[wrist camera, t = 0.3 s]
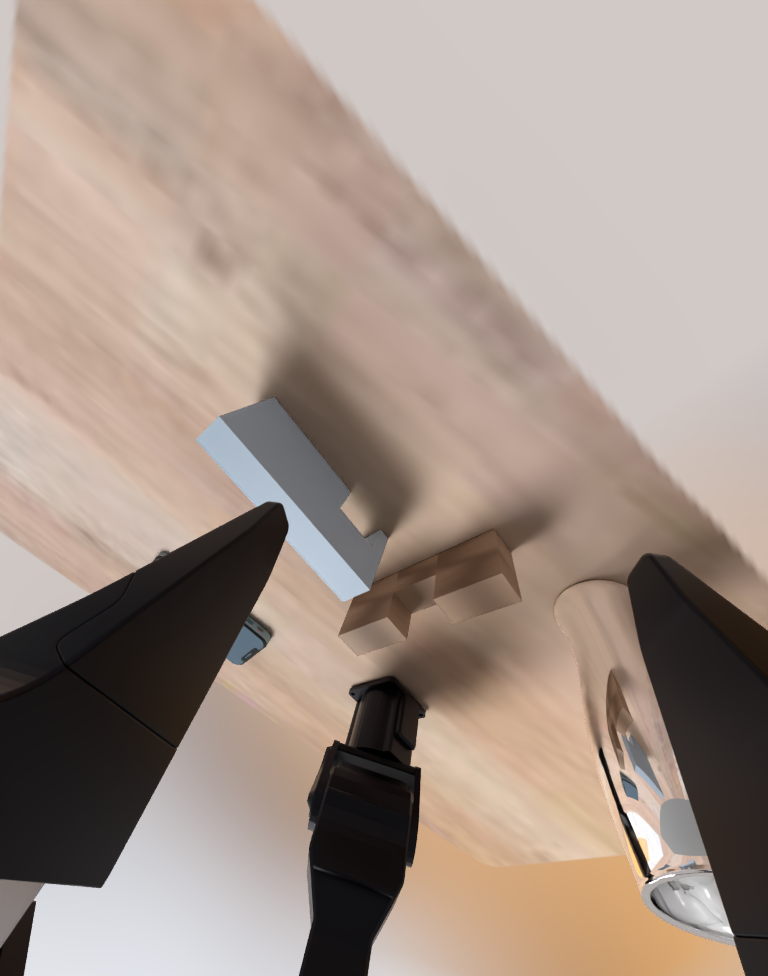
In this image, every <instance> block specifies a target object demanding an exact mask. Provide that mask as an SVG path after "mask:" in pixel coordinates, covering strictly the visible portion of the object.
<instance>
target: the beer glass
mask: <svg viewBox="0 0 768 976" xmlns="http://www.w3.org/2000/svg"><path fill="white" fill-rule="evenodd" d="M554 615H555V618H556V621H557V623H558V625H559V627H560V628H561V630H562V632H563V633H564V635H565V637H566V638H567V640H568V642H569V644H570V646H571V649H572V651H573V654H574V657H575V661H576V665H577V671H578V677H579V685H580V692H581V699H582V706H583V713H584V720H585V725H586V730H587V735H588V740H589V745H590V749H591V753H592V756H593V760H594V763H595V767H596V770H597V774H598V777H599V780H600V783H601V786H602V789H603V792H604V795H605V798H606V801H607V804H608V807H609V810H610V813H611V815H612V818H613V821H614V823H615V826H616V829H617V831H618V834H619V837H620V840H621V842H622V845H623V847H624V850H625V852H626V855H627V857H628V860H629V863H630V865H631V868H632V870H633V873H634V876H635V879H636V881H637V884H638V887H639V890H640V893H641V897H642V900H643V902H644V903H645V905H646V906H647V908H648V909H649V910H650V911H651V912H653V913H654V914H655V915H656V916H658V917H659V918H661V919H662V920H664V921H665V922H667V923H669V924H671V925H673V926H675V927H677V928H679V929H681V930H684V931H686V932H688V933H691V934H694V935H696V936H699V937H702V938H705V939H708V940H712V941H715V942H719V943H723V944H727V945H732V946H736V945H735V942H734V939H733V937H734V936H735V935H734V934H733V933H732V931H731V928H730V925H729V922H728V919H727V916H726V913H725V910H724V907H723V904H722V901H721V897H720V894H719V891H718V888H717V885H716V882H715V879H714V876H713V873H712V870H711V867H710V863H709V860H708V857H707V854H706V851H705V848H704V845H703V842H702V839H701V836H700V833H699V829H698V826H697V823H696V820H695V817H694V814H693V811H692V808H691V805H690V802H689V799H688V795H687V792H686V789H685V786H684V783H683V780H682V777H681V774H680V771H679V768H678V765H677V762H676V758H675V755H674V752H673V749H672V746H671V743H670V740H669V737H668V734H667V731H666V728H665V724H664V721H663V718H662V715H661V712H660V709H659V706H658V703H657V700H656V697H655V694H654V690H653V687H652V684H651V681H650V678H649V675H648V672H647V669H646V666H645V663H644V659H643V656H642V653H641V649H640V645H639V641H638V636H637V631H636V626H635V621H634V616H633V611H632V606H631V601H630V596H629V591H628V587H627V586H625V585H623V584H621V583H618V582H614V581H608V580H590V581H585V582H581V583H578V584H575V585H573V586H571V587H569V588H568V589H566V590H565V591H564V592H562V593H561V594H560V596H559V597H558V598H557V600H556V602H555V605H554Z"/></svg>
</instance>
